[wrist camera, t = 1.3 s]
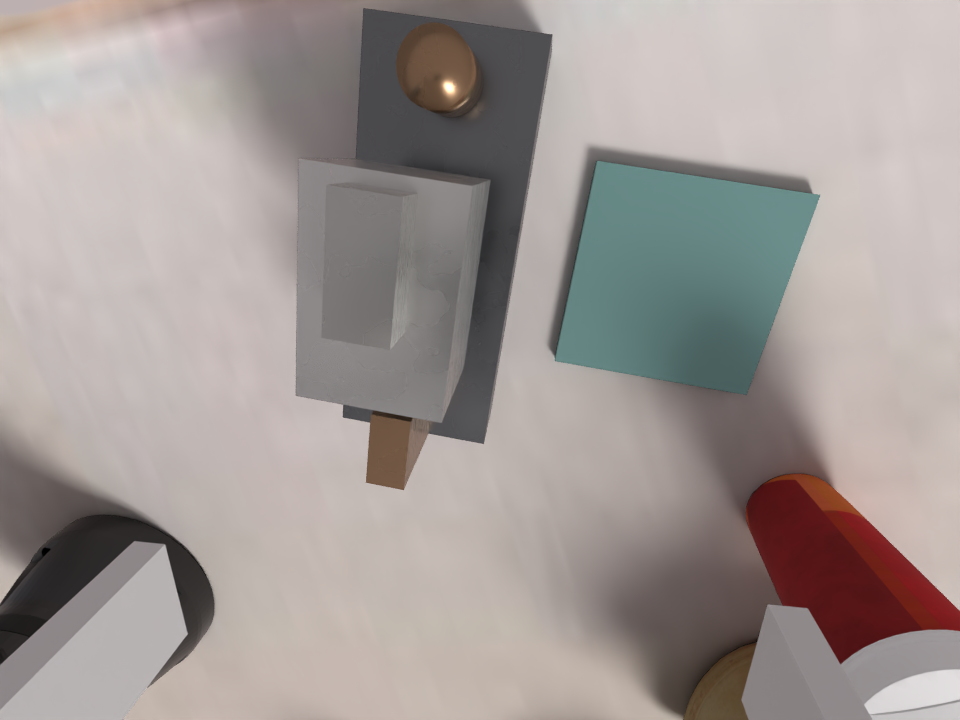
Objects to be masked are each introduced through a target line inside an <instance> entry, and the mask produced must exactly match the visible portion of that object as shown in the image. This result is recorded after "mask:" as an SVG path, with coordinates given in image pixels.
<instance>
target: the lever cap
mask: <svg viewBox="0 0 960 720" xmlns="http://www.w3.org/2000/svg"><path fill="white" fill-rule="evenodd" d="M490 181H491V180H489V179H483V178H476V177H470V176H463V175H457V174H451V173H444V172H438V171H432V170H425V169H419V168H413V167H406V166H400V165H394V164H387V163H381V162H375V161H368V160H362V159H303V158H299V168H298V248H297V328H296V396H300V397H305V398H311V399H316V400H321V401H327V402H332V403H337V404H343V405H348V406H354V407H359V408H364V409H370V410H375V411H380V412H386V413H391V414H396V415H402V416H407V417H412V418H418V419H423V420H428V421H434V422H439V423H442V420H443V418H444V415H445V413H446V410H447V408H448V405H449V403H450V401H451V398H452V396H453V393H454V391H455V388H456V386H457V383H458V381H459V378H460V376H461V373H462V371H463V368H464V364H465V356H466V349H467V342H468V335H469V328H470V321H471V314H472V307H473V300H474V293H475V286H476V279H477V272H478V265H479V258H480V251H481V244H482V237H483V230H484V223H485V216H486V209H487V202H488V195H489V188H490Z"/></svg>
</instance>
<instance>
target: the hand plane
mask: <svg viewBox="0 0 960 720" xmlns="http://www.w3.org/2000/svg"><path fill="white" fill-rule="evenodd" d="M551 53H552V34H544V33H537V32H530V31H523V30H516V29H509V28H501V27H494V26H487V25H480V24H473V23H466V22H458V21H451V20H444V19H437V18H430V17H423V16H415V15H408V14H401V13H394V12H387V11H380V10H372V9H365V8H364V9H363V29H362V48H361V68H360V88H359V107H358V127H357V147H356V159H362V160H368V161H375V162H381V163H387V164H394V165H400V166H406V167H413V168H419V169H425V170H432V171H438V172H444V173H451V174H457V175H463V176H470V177H476V178H483V179H489V180H491V181H490V188H489V195H488V202H487V209H486V216H485V223H484V230H483V237H482V244H481V251H480V258H479V265H478V272H477V279H476V286H475V293H474V300H473V307H472V314H471V321H470V328H469V335H468V342H467V349H466V356H465V364H464V368H463V371H462V373H461V376H460V378H459V381H458V383H457V386H456V388H455V391H454V393H453V396H452V398H451V401H450V403H449V405H448V408H447V410H446V413H445V415H444V418H443V420H442V423H439V422H434V421H428V420H423V419H418V418H412V417H407V416H402V415H396V414H391V413H386V412H380V411H375V410H370V409H364V408H359V407H354V406H348V405H343V417H344V418H349V419H355V420H360V421H365V422H370V435H369V449H368V462H367V476H366V483H371V484H376V485H381V486H386V487H391V488H396V489H402V490H404V488H405V486H406V483H407V481H408V479H409V477H410V474H411V472H412V470H413V467H414V465H415V463H416V461H417V458H418V456H419V454H420V451H421V449H422V447H423V444H424V442H425V440H426V438H427V435H428V433H429V434H434V435H439V436H445V437H450V438H455V439H461V440H466V441H471V442H477V443H482V444H484V440H485V436H486V431H487V427H488V423H489V418H490V413H491V407H492V402H493V396H494V390H495V384H496V378H497V372H498V366H499V360H500V354H501V348H502V342H503V337H504V331H505V325H506V319H507V313H508V307H509V301H510V295H511V289H512V283H513V277H514V272H515V266H516V260H517V254H518V248H519V242H520V236H521V230H522V224H523V218H524V212H525V207H526V201H527V195H528V189H529V183H530V177H531V171H532V165H533V159H534V153H535V147H536V142H537V136H538V130H539V124H540V118H541V112H542V106H543V100H544V94H545V88H546V82H547V77H548V71H549V65H550V59H551Z"/></svg>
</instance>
